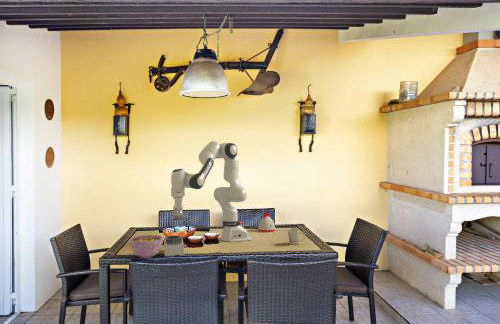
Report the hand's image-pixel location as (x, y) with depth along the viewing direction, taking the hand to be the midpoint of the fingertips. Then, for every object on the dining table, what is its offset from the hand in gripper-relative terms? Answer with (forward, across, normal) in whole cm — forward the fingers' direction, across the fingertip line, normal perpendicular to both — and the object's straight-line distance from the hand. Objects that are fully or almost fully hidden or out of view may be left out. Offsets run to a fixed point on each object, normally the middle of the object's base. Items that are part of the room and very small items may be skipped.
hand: (177, 214), depth 278 cm
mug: (+23, -4, +84) cm, 87 cm away
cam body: (+25, +2, -2) cm, 25 cm away
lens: (+3, 0, 0) cm, 3 cm away
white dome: (+22, -53, +74) cm, 93 cm away
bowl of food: (+25, +8, -20) cm, 33 cm away
